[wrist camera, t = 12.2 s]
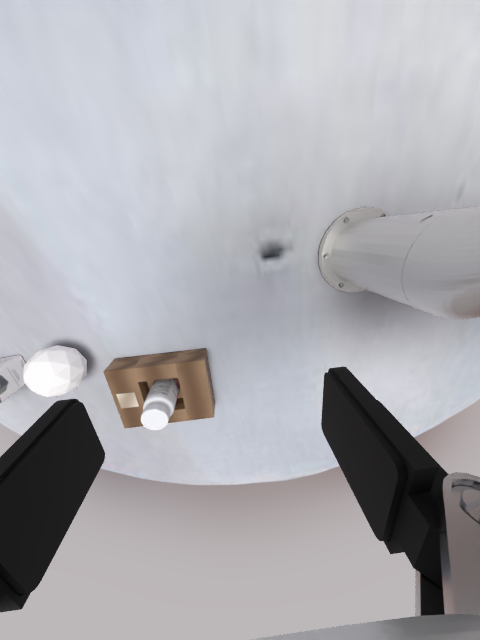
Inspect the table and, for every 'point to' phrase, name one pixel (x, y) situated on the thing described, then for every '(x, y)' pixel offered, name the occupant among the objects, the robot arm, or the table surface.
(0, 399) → the ink box
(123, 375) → the brown flat recessed slab
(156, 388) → the pill bottle
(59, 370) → the geometric ball
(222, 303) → the table surface
